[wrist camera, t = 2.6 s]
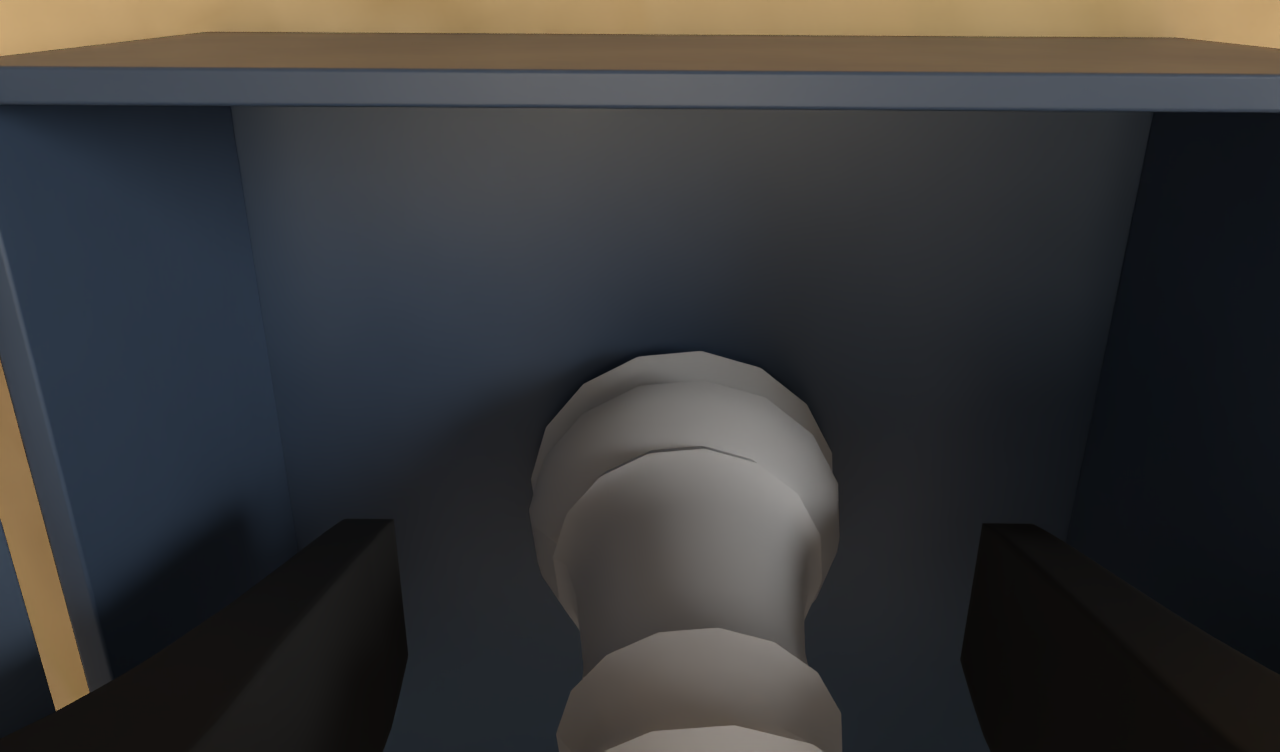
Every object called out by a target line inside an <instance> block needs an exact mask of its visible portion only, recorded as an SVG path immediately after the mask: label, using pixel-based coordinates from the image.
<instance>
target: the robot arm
mask: <svg viewBox="0 0 1280 752" xmlns="http://www.w3.org/2000/svg"><path fill="white" fill-rule="evenodd" d="M407 660H408V647H407V637H406V628H405V619H404V609H403V600H402V591H401V582H400V572H399V563H398V554H397V544H396V535H395V526H394V519H343V520H342V521H340V522H339V523H337V524H336V525H334V526H333V527H331V528H330V529H328V530H327V531H326V532H324V533H323V534H322V535H320V536H319V537H318V538H316V539H315V540H314V541H312V542H311V543H310V544H308V545H307V546H306V547H305V548H303V549H302V550H301V551H299V552H298V553H297V554H295V555H294V556H293V557H292V558H290V559H289V560H288V561H286V562H285V563H284V564H282V565H281V566H280V567H278V568H277V569H276V570H274V571H273V572H272V573H270V574H269V575H268V576H266V577H265V578H264V579H262V580H261V581H260V582H258V583H257V584H256V585H254V586H253V587H252V588H250V589H249V590H248V591H246V592H245V593H244V594H242V595H241V596H240V597H238V598H237V599H236V600H234V601H233V602H232V603H230V604H229V605H227V606H226V607H224V608H223V609H222V610H220V611H219V612H217V613H216V614H214V615H213V616H211V617H210V618H208V619H207V620H205V621H204V622H202V623H201V624H199V625H198V626H197V627H195V628H194V629H192V630H191V631H189V632H188V633H186V634H185V635H183V636H182V637H180V638H179V639H177V640H176V641H175V642H173V643H172V644H170V645H169V646H167V647H166V648H164V649H163V650H161V651H160V652H158V653H157V654H155V655H153V656H152V657H150V658H149V659H147V660H145V661H144V662H142V663H141V664H139V665H137V666H136V667H134V668H132V669H131V670H129V671H127V672H126V673H124V674H122V675H121V676H119V677H117V678H115V679H114V680H112V681H110V682H108V683H107V684H105V685H103V686H101V687H100V688H98V689H96V690H94V691H92V692H91V693H89V694H87V695H85V696H84V697H82V698H80V699H78V700H76V701H75V702H73V703H71V704H69V705H67V706H65V707H63V708H62V709H60V710H58V711H56V712H54V713H52V714H50V715H48V716H46V717H44V718H42V719H40V720H37V721H35V722H33V723H31V724H29V725H27V726H25V727H23V728H21V729H19V730H17V731H15V732H13V733H11V734H9V735H7V736H4V737H2V738H0V752H383V750H384V747H385V745H386V742H387V739H388V736H389V734H390V731H391V728H392V724H393V720H394V716H395V712H396V708H397V704H398V700H399V695H400V691H401V687H402V682H403V678H404V673H405V669H406V664H407ZM960 661H961V665H962V668H963V672H964V675H965V679H966V682H967V685H968V689H969V692H970V696H971V699H972V702H973V706H974V709H975V712H976V715H977V718H978V721H979V724H980V727H981V730H982V733H983V736H984V738H985V740H986V743H987V745H988V747H989V749H990V752H1280V675H1279V674H1277V673H1275V672H1274V671H1272V670H1270V669H1268V668H1266V667H1265V666H1263V665H1261V664H1259V663H1258V662H1256V661H1254V660H1252V659H1251V658H1249V657H1247V656H1245V655H1244V654H1242V653H1240V652H1239V651H1237V650H1235V649H1233V648H1232V647H1230V646H1228V645H1226V644H1225V643H1223V642H1221V641H1219V640H1218V639H1216V638H1214V637H1213V636H1211V635H1209V634H1208V633H1206V632H1204V631H1203V630H1201V629H1199V628H1198V627H1196V626H1194V625H1193V624H1191V623H1190V622H1188V621H1186V620H1185V619H1183V618H1181V617H1180V616H1178V615H1177V614H1175V613H1173V612H1172V611H1170V610H1169V609H1167V608H1166V607H1164V606H1162V605H1161V604H1159V603H1158V602H1156V601H1155V600H1153V599H1151V598H1150V597H1148V596H1147V595H1145V594H1144V593H1142V592H1141V591H1139V590H1138V589H1136V588H1134V587H1133V586H1131V585H1130V584H1128V583H1127V582H1125V581H1124V580H1122V579H1121V578H1119V577H1118V576H1116V575H1115V574H1113V573H1112V572H1110V571H1108V570H1107V569H1105V568H1104V567H1102V566H1101V565H1099V564H1098V563H1096V562H1095V561H1093V560H1092V559H1090V558H1089V557H1087V556H1086V555H1084V554H1083V553H1081V552H1079V551H1078V550H1076V549H1075V548H1073V547H1072V546H1070V545H1068V544H1067V543H1065V542H1064V541H1062V540H1060V539H1059V538H1057V537H1056V536H1054V535H1052V534H1051V533H1049V532H1047V531H1045V530H1044V529H1042V528H1040V527H1038V526H1036V525H1034V524H1005V523H982V529H981V535H980V541H979V547H978V553H977V560H976V566H975V572H974V578H973V584H972V590H971V596H970V602H969V608H968V614H967V620H966V627H965V633H964V639H963V645H962V651H961V657H960Z"/></svg>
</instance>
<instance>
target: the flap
mask: <svg viewBox="0 0 1280 752" xmlns="http://www.w3.org/2000/svg"><path fill="white" fill-rule="evenodd" d="M54 712H56V710H55V707H54V704H53V700H52V697H51V693H50V690H49V686H48V683H47V679H46V676H45V672H44V669H43V665H42V662H41V658H40V655H39V651H38V648H37V645H36V641H35V638H34V634H33V631H32V627H31V624H30V620H29V617H28V613H27V610H26V606H25V603H24V599H23V596H22V592H21V589H20V586H19V582H18V579H17V575H16V572H15V568H14V565H13V561H12V558H11V554H10V551H9V547H8V544H7V540H6V537H5V533H4V530H3V527H2V523H1V520H0V738H2V737H4V736H7V735H9V734H11V733H13V732H15V731H17V730H19V729H21V728H23V727H25V726H27V725H29V724H31V723H33V722H35V721H37V720H40V719H42V718H44V717H46V716H48V715H50V714H52V713H54Z"/></svg>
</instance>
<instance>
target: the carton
mask: <svg viewBox="0 0 1280 752" xmlns="http://www.w3.org/2000/svg"><path fill="white" fill-rule="evenodd" d="M694 351H703V352H707V353H710V354H714V355H717V356H721V357H724V358H728V359H731V360H735V361H738V362H742V363H745V364H749V365H752V366H756V367H759V368H761V369H763V370H764V371H765V372H767V373H768V374H769V375H770V376H772V377H773V378H774V379H775V380H777V381H778V382H779V383H780V384H782V385H783V386H784V387H786V388H787V389H788V390H789V391H791V392H792V393H793V394H794V395H796V396H797V397H798V398H799V399H801V400H802V401H803V402H805V403H806V404H807V406H808V408H809V410H810V411H811V413H812V415H813V417H814V419H815V421H816V423H817V425H818V427H819V429H820V431H821V433H822V435H823V437H824V439H825V441H826V442H827V444H828V446H829V448H830V450H831V452H832V473H833V475H834V477H835V478H836V480H837V482H838V492H839V532H840V538H839V544H838V549H837V553H836V555H835V558H834V560H833V562H832V564H831V567H830V569H829V571H828V573H827V576H826V578H825V580H824V582H823V585H822V587H821V589H820V591H819V594H818V596H817V598H816V600H815V601H814V602H813V603H812V604H811V607H810V609H809V611H808V613H807V616H806V618H805V620H804V632H805V654H806V658H807V663H808V666H809V667H811V668H812V669H813V670H815V671H816V672H818V674H819V676H820V677H821V679H822V681H823V683H824V684H825V686H826V688H827V689H828V691H829V693H830V695H831V696H832V698H833V700H834V702H835V703H836V705H837V707H838V708H839V710H840V712H841V724H842V752H990V749H989V747H988V745H987V743H986V740H985V738H984V736H983V733H982V730H981V727H980V724H979V721H978V718H977V715H976V712H975V709H974V706H973V702H972V699H971V696H970V692H969V689H968V685H967V682H966V679H965V675H964V672H963V668H962V665H961V661H960V657H961V651H962V645H963V639H964V633H965V627H966V620H967V614H968V608H969V602H970V596H971V590H972V584H973V578H974V572H975V566H976V560H977V553H978V547H979V541H980V535H981V529H982V523H1005V524H1034V525H1036V526H1038V527H1040V528H1042V529H1044V530H1045V531H1047V532H1049V533H1051V534H1052V535H1054V536H1056V537H1057V538H1059V539H1060V540H1062V541H1064V542H1065V543H1067V544H1068V545H1070V546H1072V547H1073V548H1075V549H1076V550H1078V551H1079V552H1081V553H1083V554H1084V555H1086V556H1087V557H1089V558H1090V559H1092V560H1093V561H1095V562H1096V563H1098V564H1099V565H1101V566H1102V567H1104V568H1105V569H1107V570H1108V571H1110V572H1112V573H1113V574H1115V575H1116V576H1118V577H1119V578H1121V579H1122V580H1124V581H1125V582H1127V583H1128V584H1130V585H1131V586H1133V587H1134V588H1136V589H1138V590H1139V591H1141V592H1142V593H1144V594H1145V595H1147V596H1148V597H1150V598H1151V599H1153V600H1155V601H1156V602H1158V603H1159V604H1161V605H1162V606H1164V607H1166V608H1167V609H1169V610H1170V611H1172V612H1173V613H1175V614H1177V615H1178V616H1180V617H1181V618H1183V619H1185V620H1186V621H1188V622H1190V623H1191V624H1193V625H1194V626H1196V627H1198V628H1199V629H1201V630H1203V631H1204V632H1206V633H1208V634H1209V635H1211V636H1213V637H1214V638H1216V639H1218V640H1219V641H1221V642H1223V643H1225V644H1226V645H1228V646H1230V647H1232V648H1233V649H1235V650H1237V651H1239V652H1240V653H1242V654H1244V655H1245V656H1247V657H1249V658H1251V659H1252V660H1254V661H1256V662H1258V663H1259V664H1261V665H1263V666H1265V667H1266V668H1268V669H1270V670H1272V671H1274V672H1275V673H1277V674H1279V675H1280V49H1276V48H1267V47H1258V46H1249V45H1240V44H1231V43H1221V42H1212V41H1203V40H1194V39H1185V38H1128V37H964V36H799V35H635V34H470V33H306V32H203V33H194V34H186V35H178V36H169V37H161V38H152V39H144V40H135V41H127V42H118V43H110V44H101V45H93V46H84V47H76V48H67V49H59V50H50V51H42V52H33V53H25V54H16V55H8V56H0V360H1V363H2V367H3V371H4V375H5V378H6V382H7V386H8V389H9V393H10V397H11V401H12V404H13V408H14V412H15V416H16V419H17V423H18V427H19V430H20V434H21V438H22V442H23V445H24V449H25V453H26V457H27V460H28V464H29V468H30V471H31V475H32V479H33V483H34V486H35V490H36V494H37V498H38V501H39V505H40V509H41V512H42V516H43V520H44V524H45V527H46V531H47V535H48V539H49V542H50V546H51V550H52V553H53V557H54V561H55V565H56V568H57V572H58V576H59V580H60V583H61V587H62V591H63V594H64V598H65V602H66V606H67V609H68V613H69V617H70V621H71V624H72V628H73V632H74V635H75V639H76V643H77V647H78V650H79V654H80V658H81V662H82V665H83V669H84V673H85V676H86V680H87V684H88V688H89V691H90V693H91V692H92V691H94V690H96V689H98V688H100V687H101V686H103V685H105V684H107V683H108V682H110V681H112V680H114V679H115V678H117V677H119V676H121V675H122V674H124V673H126V672H127V671H129V670H131V669H132V668H134V667H136V666H137V665H139V664H141V663H142V662H144V661H145V660H147V659H149V658H150V657H152V656H153V655H155V654H157V653H158V652H160V651H161V650H163V649H164V648H166V647H167V646H169V645H170V644H172V643H173V642H175V641H176V640H177V639H179V638H180V637H182V636H183V635H185V634H186V633H188V632H189V631H191V630H192V629H194V628H195V627H197V626H198V625H199V624H201V623H202V622H204V621H205V620H207V619H208V618H210V617H211V616H213V615H214V614H216V613H217V612H219V611H220V610H222V609H223V608H224V607H226V606H227V605H229V604H230V603H232V602H233V601H234V600H236V599H237V598H238V597H240V596H241V595H242V594H244V593H245V592H246V591H248V590H249V589H250V588H252V587H253V586H254V585H256V584H257V583H258V582H260V581H261V580H262V579H264V578H265V577H266V576H268V575H269V574H270V573H272V572H273V571H274V570H276V569H277V568H278V567H280V566H281V565H282V564H284V563H285V562H286V561H288V560H289V559H290V558H292V557H293V556H294V555H295V554H297V553H298V552H299V551H301V550H302V549H303V548H305V547H306V546H307V545H308V544H310V543H311V542H312V541H314V540H315V539H316V538H318V537H319V536H320V535H322V534H323V533H324V532H326V531H327V530H328V529H330V528H331V527H333V526H334V525H336V524H337V523H339V522H340V521H342V520H343V519H394V526H395V535H396V544H397V554H398V563H399V572H400V582H401V591H402V600H403V609H404V619H405V628H406V637H407V647H408V660H407V664H406V669H405V673H404V678H403V682H402V687H401V691H400V695H399V700H398V704H397V708H396V712H395V716H394V720H393V724H392V728H391V731H390V734H389V736H388V739H387V742H386V745H385V747H384V750H383V752H559V748H558V743H557V737H556V733H557V730H558V727H559V724H560V721H561V718H562V715H563V712H564V709H565V706H566V704H567V701H568V698H569V695H570V692H571V690H572V689H573V688H574V687H575V686H576V685H577V684H578V683H579V682H580V681H581V680H582V678H583V667H584V666H583V657H582V647H581V638H580V630H579V629H578V627H577V626H576V624H575V623H574V622H573V620H572V619H571V618H570V616H569V615H568V614H567V612H566V611H565V609H564V608H563V606H562V605H561V603H560V602H559V600H558V599H557V597H556V596H555V594H554V593H553V591H552V590H551V589H550V587H549V586H548V584H547V583H546V581H545V580H544V578H543V577H542V575H541V571H540V568H539V565H538V562H537V556H536V550H535V544H534V538H533V532H532V526H531V520H530V514H529V508H530V504H531V501H532V497H533V488H532V482H531V477H532V474H533V470H534V467H535V463H536V460H537V456H538V453H539V449H540V446H541V443H542V439H543V436H544V432H545V429H546V427H547V426H548V424H549V423H550V422H551V421H552V420H553V419H554V417H555V416H556V415H557V414H558V413H559V412H560V410H561V409H562V408H563V407H564V406H565V405H566V404H567V402H568V401H569V400H570V399H571V398H572V397H573V395H574V394H575V393H576V392H577V391H578V390H579V388H580V387H581V386H582V385H583V384H584V383H586V382H588V381H590V380H592V379H594V378H596V377H598V376H600V375H602V374H604V373H606V372H608V371H610V370H612V369H614V368H616V367H618V366H620V365H622V364H624V363H626V362H628V361H630V360H632V359H634V358H636V357H640V356H650V355H661V354H672V353H683V352H694Z"/></svg>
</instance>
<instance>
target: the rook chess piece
mask: <svg viewBox="0 0 1280 752" xmlns="http://www.w3.org/2000/svg"><path fill="white" fill-rule="evenodd" d="M531 482H532V488H533V497H532V501H531V504H530V508H529V514H530V520H531V526H532V532H533V538H534V544H535V550H536V556H537V562H538V565H539V568H540V571H541V575H542V577H543V578H544V580H545V581H546V583H547V584H548V586H549V587H550V589H551V590H552V591H553V593H554V594H555V596H556V597H557V599H558V600H559V602H560V603H561V605H562V606H563V608H564V609H565V611H566V612H567V614H568V615H569V616H570V618H571V619H572V620H573V622H574V623H575V624H576V626H577V627H578V629H579V630H580V638H581V647H582V657H583V666H584V667H583V678H582V680H581V681H580V682H579V683H578V684H577V685H576V686H575V687H574V688H573V689H572V690H571V692H570V695H569V698H568V701H567V704H566V706H565V709H564V712H563V715H562V718H561V721H560V724H559V727H558V730H557V733H556V737H557V743H558V748H559V752H842V724H841V712H840V710H839V708H838V707H837V705H836V703H835V702H834V700H833V698H832V696H831V695H830V693H829V691H828V689H827V688H826V686H825V684H824V683H823V681H822V679H821V677H820V676H819V674H818V672H816V671H815V670H813V669H812V668H811V667H809V666H808V663H807V658H806V654H805V632H804V620H805V618H806V616H807V613H808V611H809V609H810V607H811V604H812V603H813V602H814V601H815V600H816V598H817V596H818V594H819V591H820V589H821V587H822V585H823V582H824V580H825V578H826V576H827V573H828V571H829V569H830V567H831V564H832V562H833V560H834V558H835V555H836V553H837V549H838V544H839V538H840V532H839V492H838V482H837V480H836V478H835V477H834V475H833V473H832V452H831V450H830V448H829V446H828V444H827V442H826V441H825V439H824V437H823V435H822V433H821V431H820V429H819V427H818V425H817V423H816V421H815V419H814V417H813V415H812V413H811V411H810V410H809V408H808V406H807V404H806V403H805V402H803V401H802V400H801V399H799V398H798V397H797V396H796V395H794V394H793V393H792V392H791V391H789V390H788V389H787V388H786V387H784V386H783V385H782V384H780V383H779V382H778V381H777V380H775V379H774V378H773V377H772V376H770V375H769V374H768V373H767V372H765V371H764V370H763V369H761V368H759V367H756V366H752V365H749V364H745V363H742V362H738V361H735V360H731V359H728V358H724V357H721V356H717V355H714V354H710V353H707V352H703V351H694V352H683V353H672V354H661V355H650V356H640V357H636V358H634V359H632V360H630V361H628V362H626V363H624V364H622V365H620V366H618V367H616V368H614V369H612V370H610V371H608V372H606V373H604V374H602V375H600V376H598V377H596V378H594V379H592V380H590V381H588V382H586V383H584V384H583V385H582V386H581V387H580V388H579V390H578V391H577V392H576V393H575V394H574V395H573V397H572V398H571V399H570V400H569V401H568V402H567V404H566V405H565V406H564V407H563V408H562V409H561V410H560V412H559V413H558V414H557V415H556V416H555V417H554V419H553V420H552V421H551V422H550V423H549V424H548V426H547V427H546V429H545V432H544V436H543V439H542V443H541V446H540V449H539V453H538V456H537V460H536V463H535V467H534V470H533V474H532V477H531Z"/></svg>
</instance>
